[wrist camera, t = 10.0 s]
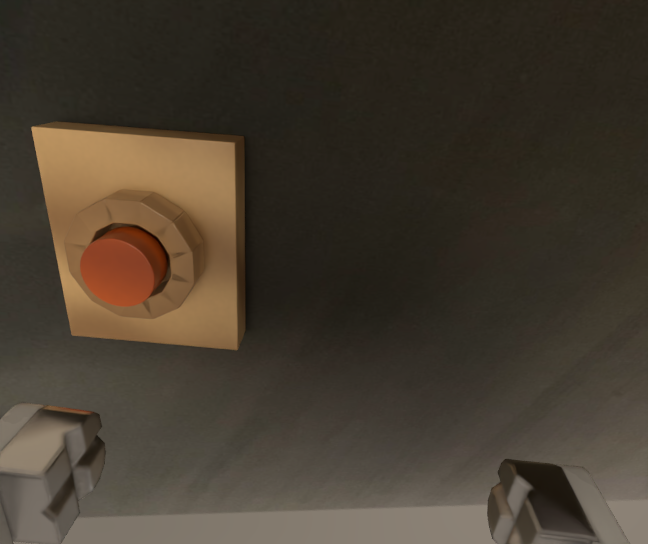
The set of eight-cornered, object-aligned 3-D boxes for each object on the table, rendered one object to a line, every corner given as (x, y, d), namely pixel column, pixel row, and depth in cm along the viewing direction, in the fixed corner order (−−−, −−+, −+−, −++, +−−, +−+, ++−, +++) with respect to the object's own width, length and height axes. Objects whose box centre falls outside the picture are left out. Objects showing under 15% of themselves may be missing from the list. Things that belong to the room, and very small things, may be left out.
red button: (170, 293, 24) (157, 310, 22) (103, 288, 24) (85, 304, 22) (165, 229, 22) (151, 242, 21) (93, 223, 23) (73, 235, 21)
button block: (245, 330, 29) (230, 369, 25) (90, 317, 29) (53, 353, 25) (244, 135, 24) (225, 148, 20) (57, 121, 24) (4, 131, 20)
